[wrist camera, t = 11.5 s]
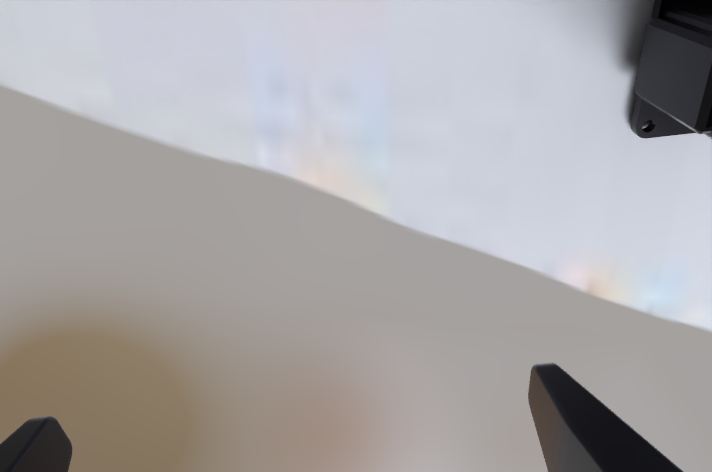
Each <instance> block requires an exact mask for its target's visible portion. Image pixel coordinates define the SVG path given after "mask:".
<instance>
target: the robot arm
mask: <svg viewBox="0 0 712 472" xmlns="http://www.w3.org/2000/svg"><path fill="white" fill-rule="evenodd" d="M634 91H635V93H636V94H637V96H636V101H635V106H634V111H633V117H632V122H631V129H632V131H633V132H634V133H635V134H636V135H638V136H639V137H641V138H652V137H661V136H670V135H679V134H688V133H698V134H705V135H707V136H708V137H710V138H711V139H712V0H655V3H654V8H653V13H652V19H651V21H650V22H649V23H648V24H647V26H646V31H645V36H644V41H643V47H642V52H641V57H640V62H639V68H638V73H637V78H636V83H635V89H634ZM648 120H650V123H649V125H648V126H647V127H646V128H643V129H642V126H643V124H644V123H645V122H646V121H648ZM528 399H529V405H530V409H531V413H532V416H533V420H534V422H535V427H536V430H537V434H538V437H539V441H540V444H541V448H542V451H543V455H544V458H545V462H546V465H547V469H548V472H683V471H682V470H681V469H680V468H678V467H677V466H676V465H675V464H674V463H673V462H671V461H670V460H669V459H668V458H667V457H665V456H664V455H663V454H662V453H661V452H660V451H658V450H657V449H656V448H655V447H654V446H653V445H651V444H650V443H649V442H648V441H647V440H645V439H644V438H643V437H642V436H641V435H640V434H638V433H637V432H636V431H635V430H634V429H633V428H631V427H630V426H629V425H628V424H627V423H625V422H624V421H623V420H622V419H621V418H620V417H618V416H617V415H616V414H615V413H614V412H612V411H611V410H610V409H609V408H608V407H606V406H605V405H604V404H603V403H602V402H601V401H600V400H598V399H597V398H596V397H595V396H593V395H592V394H591V393H590V392H589V391H588V390H586V389H585V388H584V387H583V386H582V385H581V384H579V383H578V382H577V381H576V380H575V379H573V378H572V377H571V376H570V375H569V374H568V373H567V372H565V371H564V370H563V369H562V368H560V367H559V366H558V365H557V364H554V363H545V364H536V365H534V366H533V367H532V369H531V376H530V384H529V393H528ZM71 457H72V445H71V442H70V440H69V438H68V437H67V435H66V433H65V432H64V430H63V429H62V427H61V425H60V424H59V422H58V421H57V419H56V418H54V417H51V416H48V417H38V418H32V419H30V420H28V421H26V422H25V423H24V424H23V425H22V426H20V427H19V428H18V429H17V430H16V431H15V432H13V433H12V434H11V435H10V436H9V437H8V438H7V439H5V440H4V441H3V442H2V443H1V444H0V472H68V470H69V465H70V461H71Z"/></svg>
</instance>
